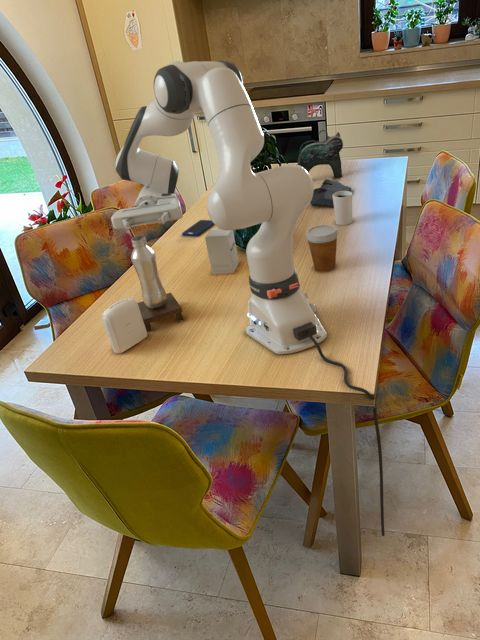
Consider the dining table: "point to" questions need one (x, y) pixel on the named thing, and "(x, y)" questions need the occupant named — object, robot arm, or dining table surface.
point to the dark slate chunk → (327, 193)
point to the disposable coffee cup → (323, 246)
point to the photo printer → (124, 324)
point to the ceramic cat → (322, 154)
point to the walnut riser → (160, 311)
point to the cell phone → (198, 228)
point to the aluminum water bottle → (147, 273)
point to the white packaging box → (222, 251)
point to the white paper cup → (343, 207)
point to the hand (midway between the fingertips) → (144, 224)
